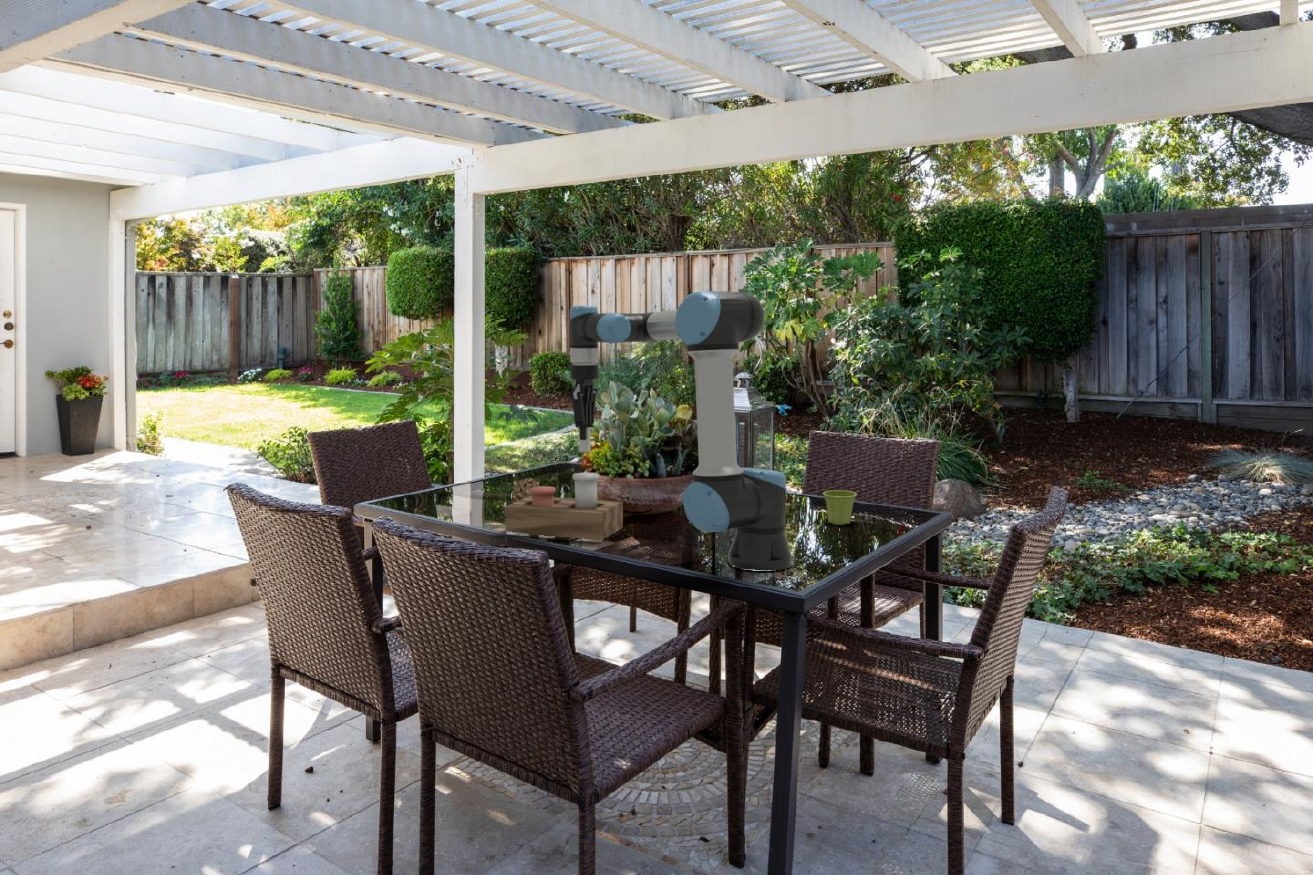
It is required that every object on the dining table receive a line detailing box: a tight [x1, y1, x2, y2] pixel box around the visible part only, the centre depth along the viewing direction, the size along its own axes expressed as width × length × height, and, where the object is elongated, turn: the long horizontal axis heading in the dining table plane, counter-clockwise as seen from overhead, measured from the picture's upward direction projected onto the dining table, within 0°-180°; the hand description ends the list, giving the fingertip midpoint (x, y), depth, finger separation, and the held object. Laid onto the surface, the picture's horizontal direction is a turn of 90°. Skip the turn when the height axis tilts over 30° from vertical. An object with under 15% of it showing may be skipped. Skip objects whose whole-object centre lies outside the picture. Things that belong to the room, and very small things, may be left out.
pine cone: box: [511, 477, 541, 503], centre depth 278 cm, size 22×10×10 cm, turn 8°
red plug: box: [530, 485, 557, 506], centre depth 255 cm, size 7×7×11 cm
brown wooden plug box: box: [504, 496, 624, 540], centre depth 253 cm, size 16×28×8 cm, turn 71°
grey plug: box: [572, 472, 600, 509], centre depth 251 cm, size 7×7×11 cm
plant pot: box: [822, 489, 857, 526], centre depth 265 cm, size 9×9×9 cm
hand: (584, 451), depth 249 cm, fingers closed
